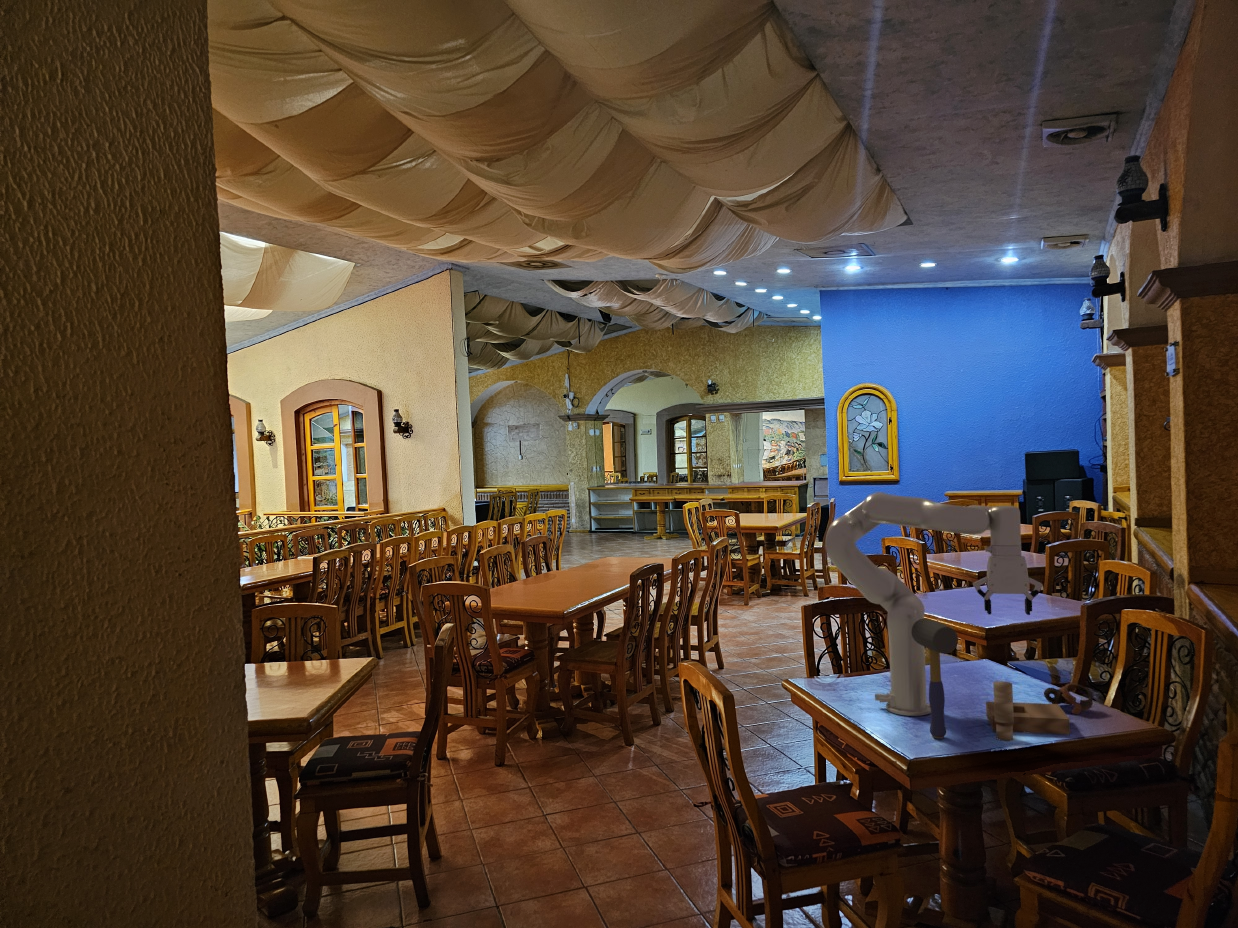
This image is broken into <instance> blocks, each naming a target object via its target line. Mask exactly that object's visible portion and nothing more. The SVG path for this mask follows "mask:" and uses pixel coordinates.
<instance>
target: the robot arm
mask: <svg viewBox="0 0 1238 928" xmlns="http://www.w3.org/2000/svg"><path fill="white" fill-rule="evenodd" d="M881 524H883V525H884V524H885V525H891V526H893V525H894V526H899V527H900V526H902V527H909V528H916V529H917V528H918V529H923V530H931V531H932V530H934V531H940V532H944V533H945V532H946V533H952V534H954V533H955V534H962V535H971V536H975V535H976V536H978V535H981V534H983V533H985V532H987V531H990V545H989V546H985V549H984V551H985V552H986V553H990V554H991V555H989V556H988V559H987V565H986V566H987V567H986V576H985V577H983V578H980V579H979V580H976V581H975V582H972V585H973V587H974V589H975V590H976V592H977V593H978V595H980V597H982V599H984V601H983V602H984V612H986V613H987V614H988V615H991V614H992V600H991V599H990V598H991V597H992V596H993V595H994V594H999V595H1000V594H1001V595H1003V594H1004V595H1009V594H1010V595H1011V594H1013V595H1018V594H1019V595H1022V594H1023V595H1024V596H1025V599H1024V612H1025V614H1026V615H1027V616H1030V615H1031V612H1033V600H1034V598H1036V596H1038V595H1039V593H1040V591H1041V589H1042V588H1043V586H1044V585H1043V583H1041V582H1039V581H1037V580H1036V579H1034V578H1031V577H1029V574H1028V573H1029V572H1028V565H1027V560H1026V556H1024V555H1022V535H1021V534H1022V533H1021V529H1022V528H1021V510H1020V508H1019V507H1017V506H1014V505H995V506H989V505H988V506H987V505H981V504H980V505H978V504H972V505H969V506H964V505H962V506H961V505H954V504H953V505H952V504H947V503H941V502H935V501H934V500H930V499H927V498H925V497H924V498H923V497H917V496H915V497H914V496H906V495H905V496H904V495H896V494H888V493H885V492H882V491H881V492H880V491H878V492H874V493H872V494H870V495H868V496H867V497H866V498H865V499H864V500H863V501H862V502H860V503H858V504H857V505H856V506H854V508H851V510H849V511H847V512H846V513H844V514H843V515H841V516H839V517H838V518H836V519H834V520H833V521H832V522H831V523H830V525H829V527H828V528H827V529H828V530H827V532H826V536H825V542H824V544H825V551H826V554H827V556H828V558H829V560H830V561H831V563H832V564H833V565H834V566H835V567H836V569H837V570H838V571H839V572H840V573H841V574H842V575H843V577H845V578H846V579H847V581H848V582H850V583H851V584H852V586H854V587H855V589H857V590H858V591H859V593H860V594H861V595H862V596H863V598H865V599H866V600H867V601H869V603H872V604H875V605H880V606H881V607H882V608H883V609H884V610H885V611H886V612H887V617H886V620H887V621H886V623H887V625H886V626H887V633H888V645H889V646H888V648H889V668H890V669H889V670H890V671H889V672H890V690H889V692H886V693H883V694H882V693H874V700H875V702H876V701H877V702H879V703H886V704H885V708H886V711H889V712H890V713H892V714H895V715H898V716H899V715H900V716H908V717H909V716H911V717H918V716H920V717H921V716H926V715H931V709H930V703H929V702H927V678H926V677H927V676H926V655H925V654H926V653H925V647H924V646H922V645H920V644H919V643H917V642H916V641H915V640H914V639H913V637H912V633H911V631H912V627H913V624H914V623H915V622H916V621H918V620H919V619H925V613H926V612H925V605H924V603H923V601H922V600H921V599H920V598H919V597H918V596H917V594H915V593H914V592H913V591H912V590H911V589H910V588H909V587H908V585H906V584H905V583H904V582H903V581H902V580H901V579H900V578H899V577H898V576H897V575H896V574H895V573H894V572H892V570H891V571H890V570H889V569H888V568H885V567H878V566H877V565H876V564H874V562H872V560H871V559H870V558H868V556H867V555H865V553H863V552H862V551H861V550H860V549H859V548H858V547H857V545H856V544H857V543H856V542H857V541H858V540H860V539H861V538H863V537H864V536H865V535H867V534H868V533H870V532H871V531H873V530H874V529H876V528H877V527H879V526H881ZM985 584H986V588H987V590H986V591H983V590H982V589H981V585H985ZM1030 584H1031V585H1034V588H1033V589H1032V590H1031V591H1030Z"/></svg>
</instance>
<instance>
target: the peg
mask: <svg viewBox="0 0 1238 928" xmlns="http://www.w3.org/2000/svg"><path fill="white" fill-rule="evenodd" d="M992 687H993V688H992V689H993V702H994V715H995V719H994V722H995V723H996V731H995V732H996V739H997V738H998V739H997V740H999V739H1000V740H999V741H1002V740H1004V741H1003V742H1011V741H1010V740H1012V741H1013V740H1014V732H1013V725H1014V714H1013V702H1014V695H1013V693H1014V690H1013V683H1012V682H1010V681H1003V680H996V681H994V682H993V685H992Z"/></svg>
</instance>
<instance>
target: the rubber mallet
mask: <svg viewBox="0 0 1238 928" xmlns="http://www.w3.org/2000/svg"><path fill="white" fill-rule="evenodd" d="M911 633H912V637H913V639H914V640H915V641H916V642H917V643H919V644H920V645H922V646H924V648H926V649H928V650H929V670H930V671H929V672H930V673H929V675H930V679H929V680H930V681H929V685H928V688H929V689H928V703H929V704H930V709H931V713H930V727H929V733H930V735H931V736H932V738H934V739H939V740H940V739H944V738H945V736H946V734H947V728H946V727H947V726H946V725H945V703H946V702H945V701H946V700H945V688H944V684H943V681H942V675H941V655H940V654H950V653H952V652H954V650H955V649H957V646H958V644H959V637H958V633H957V631H956V630H955V629H954V628H952V627H950V626H949V625H947V624H944V623H941V622H939V621H936V620H933V619H930V618H924V619H919V620H918V621H916V622H915V623H914V624H913V627H912V631H911Z"/></svg>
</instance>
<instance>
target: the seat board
mask: <svg viewBox="0 0 1238 928" xmlns="http://www.w3.org/2000/svg"><path fill="white" fill-rule="evenodd" d="M985 711H986V712H985V713H986V714H985V716H986V718H987V720H988V722H989V725H990V727H991V729H992V732H996V723H995V722H994V719H995V715H994V701H991V700H990V701H985ZM1013 714H1014V725H1013V733H1023V732H1029V733H1028V734H1044V733H1047V734H1048V733H1050V734H1049V735H1065V734H1070V735H1071V728H1070V717H1069V716H1068V715H1067V714H1066V712H1065V711H1064V710H1063V709H1062V707H1061V706H1060V704H1052V703H1040V702H1039V703H1038V702H1036V703H1033V702H1014V701H1013ZM1047 734H1046V735H1047Z"/></svg>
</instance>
